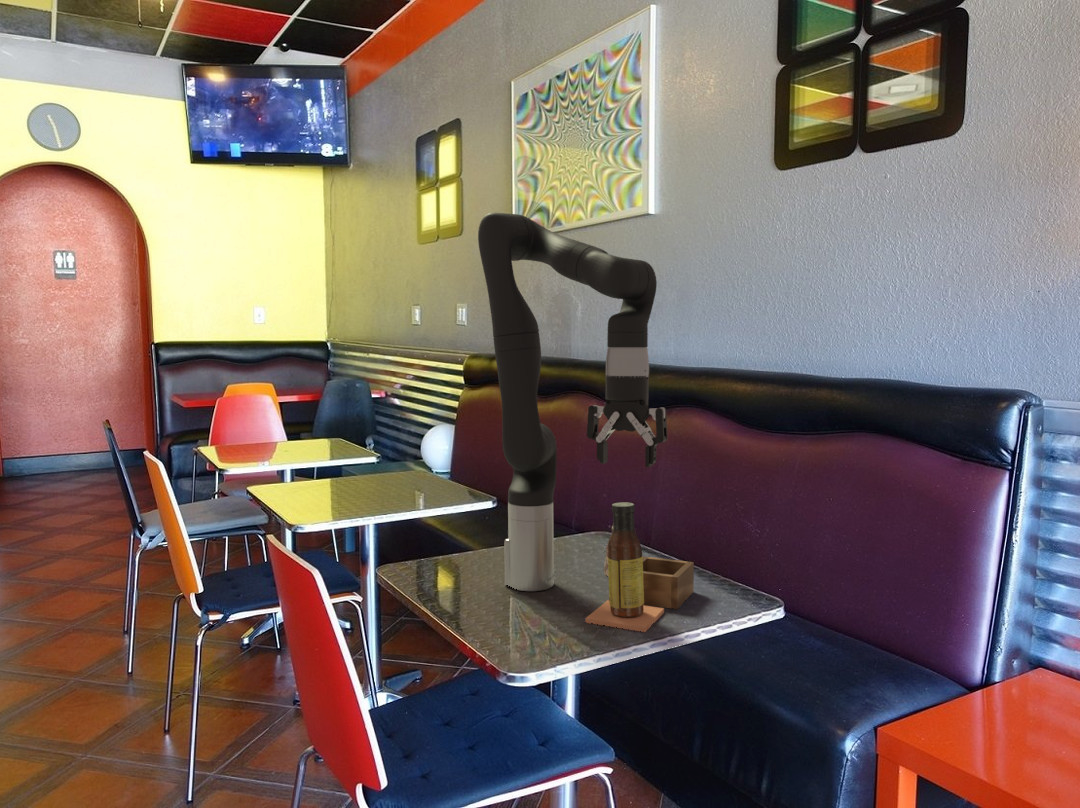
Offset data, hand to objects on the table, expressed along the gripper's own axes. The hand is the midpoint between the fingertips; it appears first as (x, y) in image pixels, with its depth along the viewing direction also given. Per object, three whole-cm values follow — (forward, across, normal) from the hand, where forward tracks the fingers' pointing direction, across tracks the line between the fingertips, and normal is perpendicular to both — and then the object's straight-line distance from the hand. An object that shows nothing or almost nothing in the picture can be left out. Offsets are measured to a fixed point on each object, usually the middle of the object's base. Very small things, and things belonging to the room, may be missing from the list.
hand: (626, 464), depth 139 cm
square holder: (+28, +2, +14) cm, 31 cm away
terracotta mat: (+28, 0, 0) cm, 28 cm away
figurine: (+28, -10, +25) cm, 39 cm away
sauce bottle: (+27, 0, 0) cm, 27 cm away
